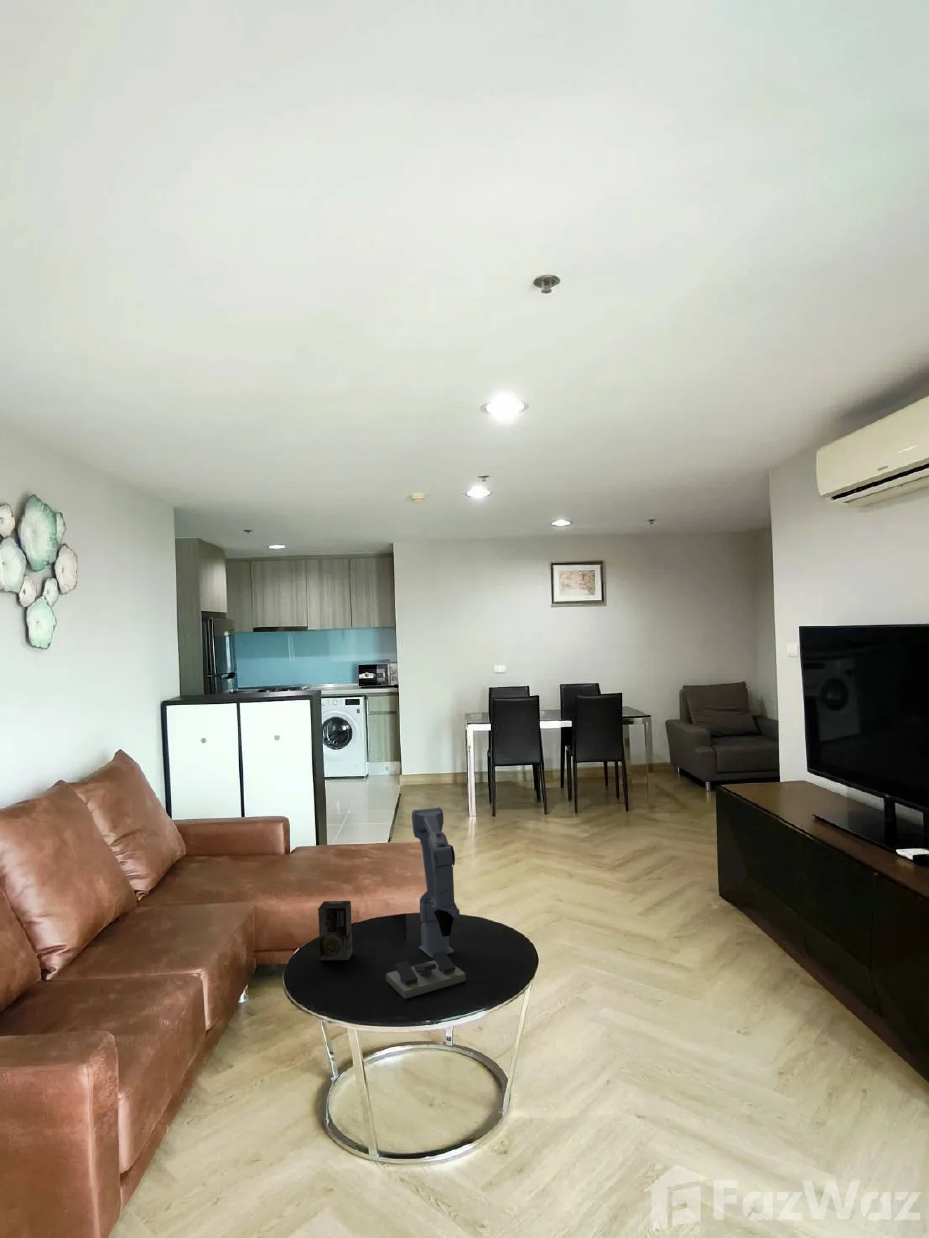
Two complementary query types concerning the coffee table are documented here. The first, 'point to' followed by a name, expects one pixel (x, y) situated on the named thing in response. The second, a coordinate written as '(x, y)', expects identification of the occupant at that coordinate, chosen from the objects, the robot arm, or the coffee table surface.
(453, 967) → the rocker back
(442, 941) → the robot arm
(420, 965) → the rocker mid
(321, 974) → the coffee table surface
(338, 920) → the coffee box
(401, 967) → the block
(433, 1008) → the coffee table surface
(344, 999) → the coffee table surface
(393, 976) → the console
